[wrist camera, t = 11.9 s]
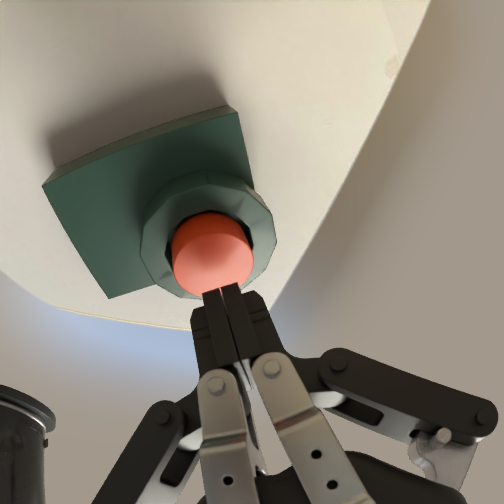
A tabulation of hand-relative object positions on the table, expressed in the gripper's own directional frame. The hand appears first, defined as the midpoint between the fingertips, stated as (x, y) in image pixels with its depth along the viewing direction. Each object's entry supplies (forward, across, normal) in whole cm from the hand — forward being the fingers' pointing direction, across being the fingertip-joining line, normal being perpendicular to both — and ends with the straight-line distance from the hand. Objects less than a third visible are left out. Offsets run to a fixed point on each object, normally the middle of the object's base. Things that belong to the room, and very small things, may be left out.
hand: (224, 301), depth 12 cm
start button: (+3, 0, -1) cm, 3 cm away
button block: (+7, +2, -2) cm, 7 cm away
